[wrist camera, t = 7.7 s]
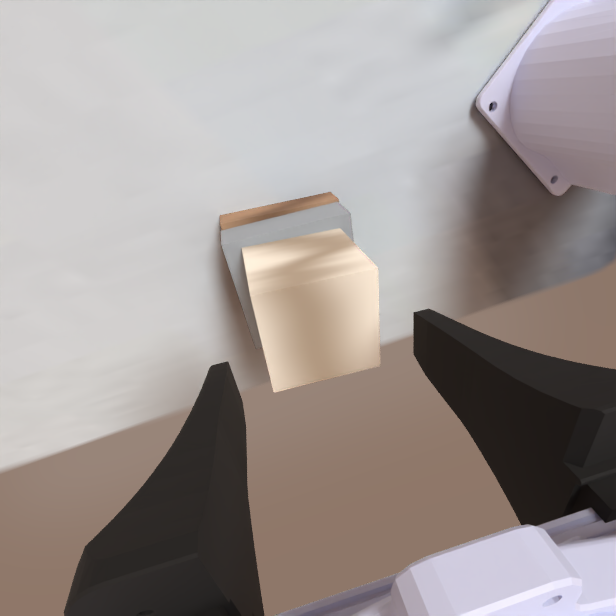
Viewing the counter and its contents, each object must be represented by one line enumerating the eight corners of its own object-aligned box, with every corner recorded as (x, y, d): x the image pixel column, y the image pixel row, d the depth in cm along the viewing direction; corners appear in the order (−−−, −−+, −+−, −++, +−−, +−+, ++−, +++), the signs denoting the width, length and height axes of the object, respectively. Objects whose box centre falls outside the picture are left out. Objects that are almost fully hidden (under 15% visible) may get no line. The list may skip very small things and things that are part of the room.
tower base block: (327, 190, 21) (338, 198, 20) (339, 285, 25) (348, 300, 23) (219, 213, 21) (220, 224, 19) (246, 307, 24) (249, 324, 22)
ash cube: (340, 228, 18) (378, 268, 14) (346, 311, 21) (380, 365, 17) (241, 247, 17) (250, 295, 13) (261, 330, 20) (273, 392, 16)
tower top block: (337, 201, 20) (350, 212, 18) (351, 300, 23) (362, 318, 21) (220, 230, 19) (221, 245, 17) (252, 328, 23) (255, 349, 21)
